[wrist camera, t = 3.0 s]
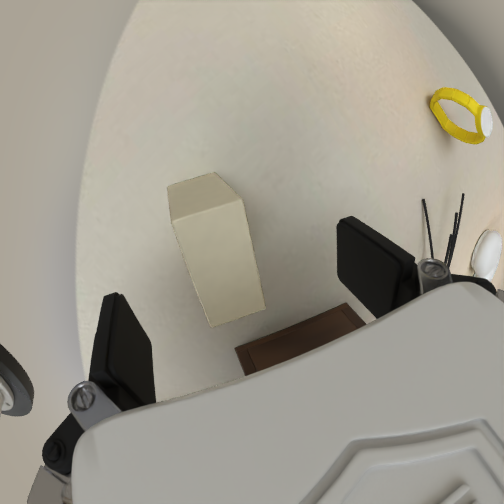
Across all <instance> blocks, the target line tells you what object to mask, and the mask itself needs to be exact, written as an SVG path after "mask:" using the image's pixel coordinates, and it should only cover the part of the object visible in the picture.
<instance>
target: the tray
mask: <svg viewBox="0 0 504 504" xmlns="http://www.w3.org/2000/svg"><path fill="white" fill-rule="evenodd" d="M365 325H367V324H366V323H365V322H364V321H363V320H362V319H361V318H360V317H359V316H358V314H357V313H356V312H355V311H354V310H353V309H352V308H351V307H350V306H349V305H348V304H347V303H344V304H342V305H340V306H338V307H335V308H333V309H331V310H329V311H326V312H324V313H322V314H320V315H317V316H315V317H313V318H310V319H308V320H306V321H303V322H301V323H299V324H296V325H294V326H291V327H289V328H286V329H284V330H281V331H279V332H276V333H274V334H271V335H269V336H266V337H263V338H261V339H258V340H255V341H253V342H250V343H247V344H244V345H242V346H239V347H236V348H235V351H236V353H237V356H238V358H239V361H240V364H241V366H242V369H243V371H244V374H245V376H247V375H250V374H253V373H256V372H259V371H261V370H264V369H267V368H269V367H272V366H275V365H277V364H280V363H282V362H285V361H287V360H290V359H292V358H295V357H297V356H300V355H302V354H304V353H307V352H309V351H311V350H314V349H316V348H318V347H320V346H323V345H325V344H327V343H329V342H332V341H334V340H336V339H338V338H340V337H342V336H344V335H346V334H349V333H351V332H353V331H355V330H357V329H359V328H361V327H363V326H365Z"/></svg>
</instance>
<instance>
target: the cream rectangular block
mask: <svg viewBox="0 0 504 504" xmlns="http://www.w3.org/2000/svg"><path fill="white" fill-rule="evenodd" d="M167 191H168V200H169V209H170V218H171V224H172V227H173V230H174V233H175V236H176V238H177V241H178V244H179V247H180V250H181V253H182V255H183V258H184V261H185V264H186V266H187V269H188V272H189V274H190V277H191V280H192V282H193V285H194V287H195V290H196V293H197V295H198V298H199V300H200V303H201V305H202V308H203V310H204V313H205V315H206V317H207V320H208V322H209V325H210V327H211V328H213V327H216V326H219V325H222V324H225V323H228V322H230V321H233V320H236V319H239V318H242V317H244V316H247V315H250V314H253V313H256V312H258V311H261V310H264V309H266V305H265V301H264V296H263V291H262V287H261V282H260V277H259V272H258V268H257V263H256V258H255V254H254V249H253V244H252V239H251V235H250V230H249V225H248V221H247V216H246V211H245V207H244V202H243V199H242V198H241V197H240V196H239V195H238V194H237V193H236V192H235V191H234V190H233V189H232V188H231V187H230V186H229V185H228V184H226V183H225V182H224V181H223V180H222V179H221V178H220V177H219V176H218V175H217V174H216V173H215V172H213V173H210V174H206V175H203V176H199V177H196V178H193V179H189V180H186V181H183V182H180V183H177V184H174V185H170V186H168V187H167Z"/></svg>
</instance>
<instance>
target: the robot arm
mask: <svg viewBox="0 0 504 504" xmlns="http://www.w3.org/2000/svg"><path fill="white" fill-rule="evenodd" d="M336 229H337V275H338V278H339V280H340V281H341V282H342V283H343V284H344V285H345V286H346V287H347V288H348V289H349V290H350V291H351V292H352V293H353V294H354V295H355V296H356V297H357V299H358V300H359V301H360V302H361V303H362V304H363V305H364V306H365V307H366V308H367V309H368V310H369V311H370V312H371V313H372V314H373V315H374V316H375V317H376V318H377V319H376V320H374V321H373V322H371V323H369V324H367V325H365V326H363V327H361V328H359V329H357V330H355V331H353V332H351V333H349V334H346V335H344V336H342V337H340V338H338V339H336V340H334V341H332V342H329V343H327V344H325V345H323V346H320V347H318V348H316V349H314V350H311V351H309V352H307V353H304V354H302V355H300V356H297V357H295V358H292V359H290V360H287V361H285V362H282V363H280V364H277V365H275V366H272V367H269V368H267V369H264V370H261V371H259V372H256V373H253V374H250V375H247V376H245V377H242V378H239V379H236V380H233V381H230V382H227V383H224V384H221V385H217V386H214V387H211V388H208V389H204V390H201V391H197V392H194V393H190V394H187V395H183V396H180V397H176V398H172V399H169V400H165V401H161V402H157V403H156V396H155V386H154V374H153V359H152V345H151V342H150V339H149V338H148V336H147V334H146V333H145V331H144V330H143V328H142V326H141V325H140V323H139V321H138V320H137V318H136V316H135V315H134V313H133V311H132V309H131V308H130V306H129V304H128V302H127V301H126V299H125V297H124V295H123V294H120V295H119V294H118V293H117V292H115V293H112V294H109V295H106V296H104V298H103V302H102V307H101V311H100V316H99V321H98V327H97V332H96V334H95V339H94V345H93V351H92V358H91V365H90V373H89V381H83V382H81V383H79V384H77V385H76V386H75V387H74V388H73V389H72V390H71V392H70V394H69V396H68V401H67V402H68V408H69V410H70V411H71V413H70V414H69V415H68V416H67V418H66V419H65V420H64V421H63V422H62V423H61V425H60V426H59V427H58V428H57V429H56V430H55V432H54V433H53V434H52V435H51V436H50V438H49V439H48V440H47V441H46V443H45V444H44V447H43V450H42V456H43V461H44V463H45V466H44V467H43V466H40V468H39V471H38V473H37V475H36V478H35V480H34V483H33V485H32V488H31V491H30V493H29V496H28V500H27V504H504V291H503V290H500V289H498V290H497V292H496V289H495V287H494V286H493V284H492V283H491V282H489V281H488V280H487V279H485V278H480V277H472V276H463V275H455V274H451V273H450V270H449V268H448V266H447V265H446V264H445V263H443V262H442V261H440V260H437V259H432V258H427V259H423V260H421V261H420V262H419V263H418V265H417V264H415V263H414V262H415V257H414V256H412V255H411V254H409V253H408V252H407V251H405V250H404V249H402V248H401V247H399V246H398V245H396V244H395V243H393V242H392V241H391V240H389V239H388V238H386V237H385V236H383V235H382V234H380V233H378V232H377V231H375V230H374V229H372V228H371V227H369V226H368V225H366V224H365V223H363V222H361V221H360V220H358V219H357V218H355V217H353V216H349V217H346V218H343V219H340V221H339V223H338V224H337V227H336ZM13 404H14V395H13V393H12V391H11V389H10V387H9V386H8V384H7V383H6V382H5V380H4V379H3V378H2V377H1V376H0V415H1V411H6V410H10V409H11V408H12V407H13Z"/></svg>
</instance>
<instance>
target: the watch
mask: <svg viewBox="0 0 504 504" xmlns="http://www.w3.org/2000/svg"><path fill="white" fill-rule="evenodd" d="M440 99H447V100H453V101H455V102H456V103H458V104H460V105H462V106H464V107H466V108H467V109H468V110H469V111H470V112H471V113H472V114H473V115H474V116H475V125H476V129H477V132H478V133H474V132H468V131H466V130H464V129H462V128H460V127H458V126H457V125H455V124H454V123H453V122H452V121H450V120H449V119H448V118H447V116H446V114H445V113H444V111H443V109H442V108H441V106H440V105H439V103H438V100H440ZM430 109H431V110H432V112H433V113H434V115H435V116H436V118H437V119H438V121H439V123H440V124H441V126H442V128H443V129H444V130H445V131H446V132H448V133H449V134H450V135H452V136H454V138H457V139H459V140H461V141H463V142H465V143H469V144H479V143H481V142H483V141H484V140H485V137H489V136H490V135H491V132H492V126H493V123H492V115H491V112H490V110H489V108H488V107H487V106H483V105H479V104H478V103H477V102H476V101H475V100H474V99H473V98H472V97H470V96H469V95H467V94H466V93H464V92H462V91H460V90H458V89H455V88H446V87H444V88H440V89H439V90H437V91H435V93H434V95H433V97H432V99H431V102H430Z"/></svg>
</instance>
